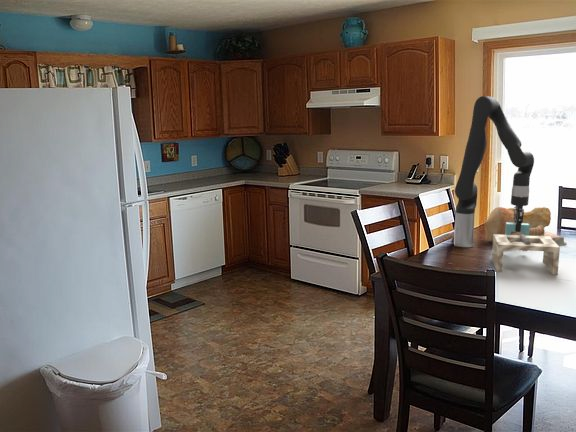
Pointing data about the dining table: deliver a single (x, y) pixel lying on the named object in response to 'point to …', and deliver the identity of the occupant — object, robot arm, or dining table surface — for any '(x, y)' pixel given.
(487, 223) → the orange-brown rounded sculpted piece
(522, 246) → the shelf
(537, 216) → the rough brown rock
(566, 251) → the dining table surface
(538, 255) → the dining table surface
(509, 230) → the teal arch block
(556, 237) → the packaged product
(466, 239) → the robot arm
